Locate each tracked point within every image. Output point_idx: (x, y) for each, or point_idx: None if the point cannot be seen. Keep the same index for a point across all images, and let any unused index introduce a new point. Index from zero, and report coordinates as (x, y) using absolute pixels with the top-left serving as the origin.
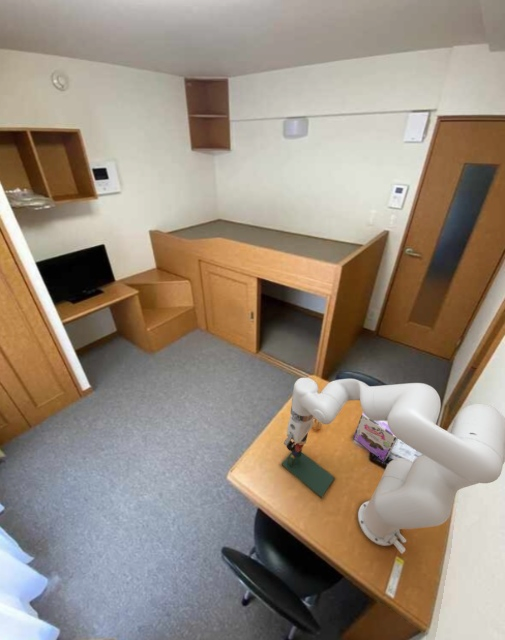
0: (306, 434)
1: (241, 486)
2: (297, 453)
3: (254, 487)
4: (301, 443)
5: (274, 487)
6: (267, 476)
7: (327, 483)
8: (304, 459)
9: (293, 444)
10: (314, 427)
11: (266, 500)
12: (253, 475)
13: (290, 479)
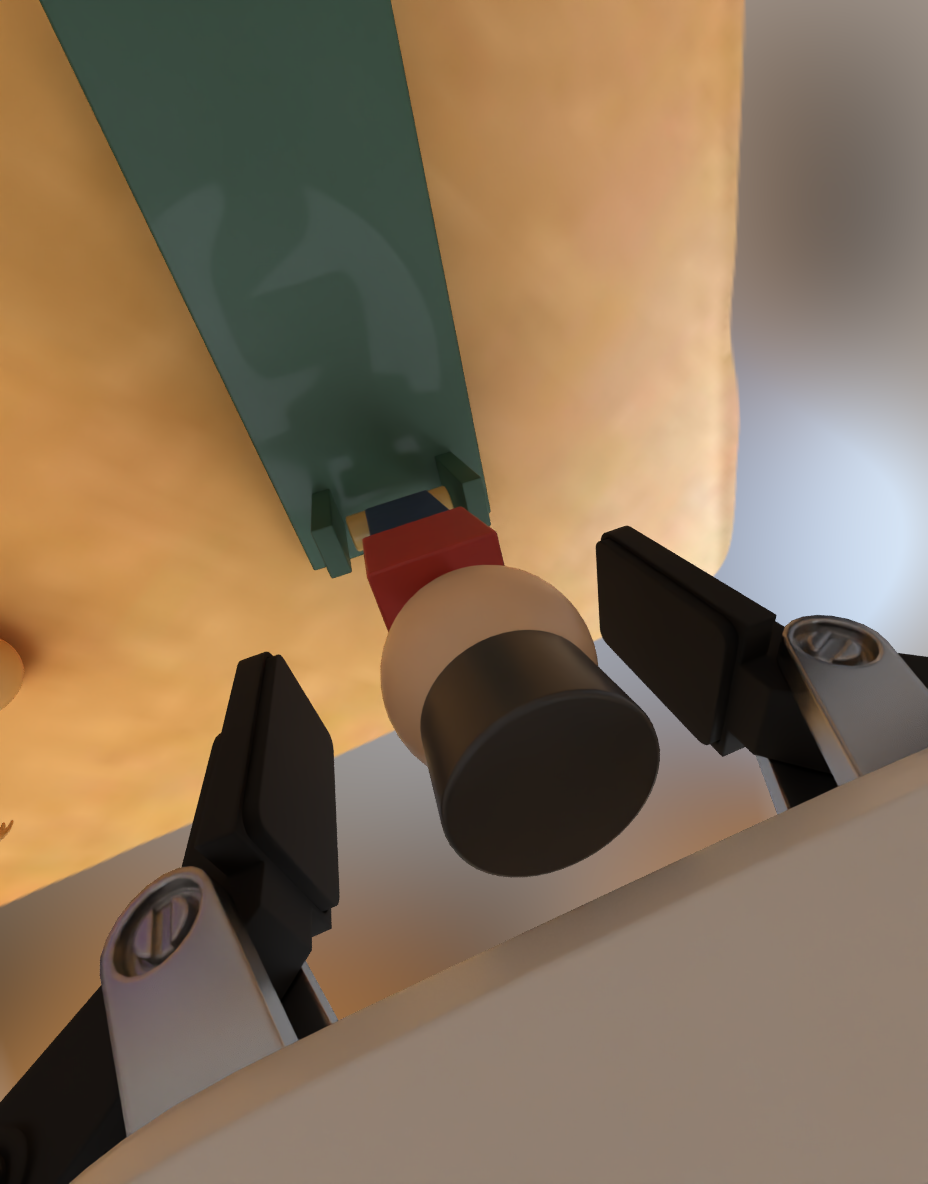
0: (269, 722)
1: (733, 512)
2: (442, 505)
3: (699, 471)
4: (575, 610)
5: (623, 398)
6: (604, 487)
7: (199, 13)
8: (302, 444)
9: (920, 682)
10: (3, 661)
11: (714, 357)
12: (654, 533)
13: (501, 376)
